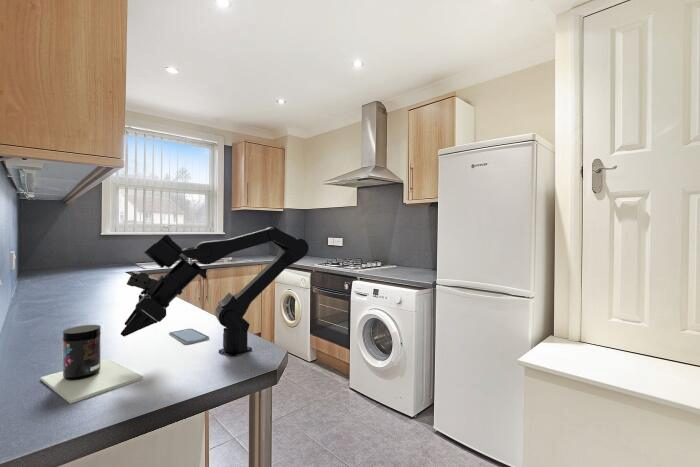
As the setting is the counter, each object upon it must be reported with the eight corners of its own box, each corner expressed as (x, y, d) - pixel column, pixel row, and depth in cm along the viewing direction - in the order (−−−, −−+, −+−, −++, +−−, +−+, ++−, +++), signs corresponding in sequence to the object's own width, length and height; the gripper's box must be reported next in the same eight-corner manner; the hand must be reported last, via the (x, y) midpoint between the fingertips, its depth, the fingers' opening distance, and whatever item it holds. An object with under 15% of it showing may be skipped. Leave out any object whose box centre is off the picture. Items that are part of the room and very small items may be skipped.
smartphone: (191, 328, 112) (210, 337, 102) (191, 330, 112) (210, 340, 102) (167, 332, 107) (185, 342, 96) (167, 335, 107) (185, 346, 96)
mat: (142, 378, 75) (142, 376, 75) (70, 403, 64) (70, 400, 64) (108, 360, 84) (108, 358, 84) (40, 379, 74) (40, 377, 74)
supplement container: (78, 368, 78) (78, 324, 78) (107, 368, 79) (107, 324, 78) (54, 381, 71) (53, 333, 71) (86, 381, 72) (86, 333, 72)
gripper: (151, 256, 89) (100, 301, 84) (149, 262, 73) (86, 318, 68) (183, 283, 93) (137, 327, 88) (188, 294, 77) (132, 349, 72)
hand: (124, 329), depth 79 cm, fingers open, 9 cm apart
